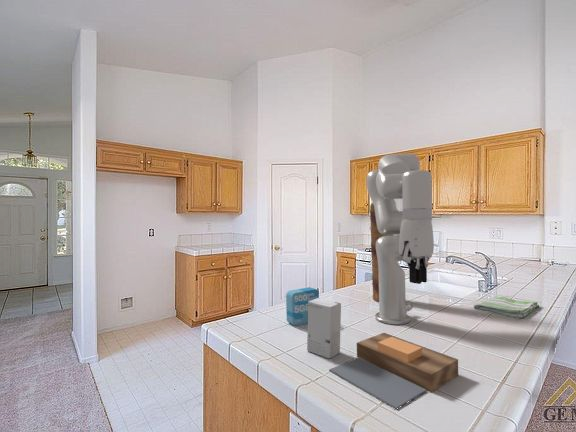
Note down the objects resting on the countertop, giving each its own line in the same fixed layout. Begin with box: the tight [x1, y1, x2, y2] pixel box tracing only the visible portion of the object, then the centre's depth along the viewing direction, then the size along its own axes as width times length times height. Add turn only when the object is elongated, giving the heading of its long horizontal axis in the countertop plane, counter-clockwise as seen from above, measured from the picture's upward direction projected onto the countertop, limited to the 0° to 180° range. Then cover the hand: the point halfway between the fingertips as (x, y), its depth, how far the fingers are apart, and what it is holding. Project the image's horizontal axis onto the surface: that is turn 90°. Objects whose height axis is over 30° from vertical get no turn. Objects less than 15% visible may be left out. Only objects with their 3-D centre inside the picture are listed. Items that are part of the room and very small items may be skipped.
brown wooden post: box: [369, 202, 388, 303], centre depth 144 cm, size 10×11×45 cm
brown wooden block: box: [356, 332, 459, 393], centre depth 82 cm, size 12×22×4 cm, turn 35°
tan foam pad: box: [378, 337, 422, 362], centre depth 81 cm, size 9×6×2 cm, turn 36°
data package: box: [285, 286, 320, 327], centre depth 117 cm, size 12×4×12 cm, turn 121°
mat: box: [328, 357, 427, 410], centre depth 75 cm, size 11×20×1 cm, turn 35°
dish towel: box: [472, 296, 540, 320], centre depth 129 cm, size 17×23×4 cm
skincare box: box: [306, 297, 342, 359], centre depth 91 cm, size 8×6×15 cm
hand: (418, 281), depth 86 cm, fingers closed
